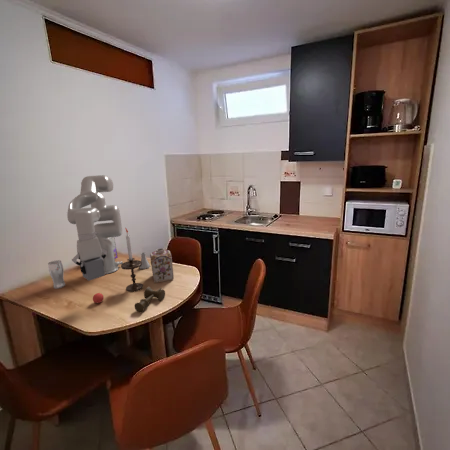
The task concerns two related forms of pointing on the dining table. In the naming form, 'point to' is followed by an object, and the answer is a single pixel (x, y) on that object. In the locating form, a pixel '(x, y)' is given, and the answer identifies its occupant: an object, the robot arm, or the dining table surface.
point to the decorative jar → (161, 265)
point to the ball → (98, 298)
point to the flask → (144, 261)
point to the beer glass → (56, 273)
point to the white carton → (113, 246)
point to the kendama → (149, 298)
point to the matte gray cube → (94, 269)
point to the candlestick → (131, 267)
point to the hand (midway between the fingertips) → (93, 270)
